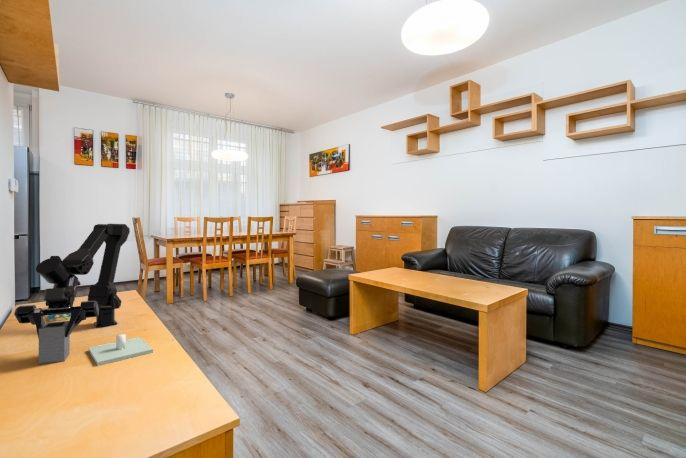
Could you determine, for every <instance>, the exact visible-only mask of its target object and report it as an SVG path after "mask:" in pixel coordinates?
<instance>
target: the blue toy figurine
mask: <svg viewBox="0 0 686 458" xmlns="http://www.w3.org/2000/svg"><path fill="white" fill-rule="evenodd" d="M55 317H57V315H47V317H46V318H47V319H48V320H49V321H51V320H52V319H54V318H55ZM58 317H59V318H62V317H63V318H64V319H65V320H66V321H69V320H70V317H71V314H61V315H58Z"/></svg>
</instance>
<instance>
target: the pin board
mask: <svg viewBox="0 0 686 458" xmlns="http://www.w3.org/2000/svg"><path fill="white" fill-rule="evenodd" d="M115 336H116V337H115V339H116V341H115V342H109V343H104V344H100V345H93V346H90V347H88V353H89V354H90V356H91V357H92V359H93V360H94V363H95V365H97V366H99V367H100V366H102V365H107V364H111V363H115V362H119V361H123V360H127V359H130V358H136V357H140V356H143V355H148V354H152V353H154V349H153V347H151V345H149V343H148V342H146V341H145V340H144V339H143V338H142V337H141V336H138V337H134V338H133V337H132V338H129V339H127V338H126V334H124V333H122V334H117V335H115Z"/></svg>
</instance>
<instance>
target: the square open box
mask: <svg viewBox="0 0 686 458" xmlns="http://www.w3.org/2000/svg"><path fill="white" fill-rule="evenodd" d="M69 321H70V320H64V321H52V322H45V324H44V325H43V326H41V327H40V328H39V339H38V365H44V364H51V363H59V362H65V361H66V359H67V358H68V357H69V355H70V349H71V348H70V335H71V334H70V335H69V336H68V337H66V330H67V327H68V324H69Z"/></svg>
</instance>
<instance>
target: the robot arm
mask: <svg viewBox="0 0 686 458" xmlns="http://www.w3.org/2000/svg"><path fill="white" fill-rule="evenodd" d="M130 231H131V229H130V227H129V226H128V225H127V224H125V223H97V224H95V225H94V226H93V229H92V231H91V232H90V233H89V235H88V236H87V238H86V239H85V240H84V241H83V243H81V245H80V246H79V248H78V249H77V250H75V251H73V252H70V253H69V254H68V255H66V257H64V258H63V259H62V258H61V257H60V256H59V255H51V256H50V257H49V258H47V259H44V260H43V261H41V262H39V263H38V264H37V265H36V267H35V271H36V273H37V274H39V276H41V277H42V278H43V279H44V280H45V281H46V282H47V283H48V284H53V286H52V288H50V287H49V288H45V290H44V291H45V292H44V297H43V300H44V301H45V303H44V304H45V306H46V307H47V308H42V307H37V306H36V304H32V305H31V304H28V305H19V306H17V307H16V308H15V310H14V313H13V314H14V317H15V319H16V320H17V321H18V322H17V323H19V324H21V325H22V324H23V325H24V324H31V325H32V326H35V328H36V334H37V339H38V340H39V328H40V327H41V326H43V325H44V324H45V323H46V321H45V319H44V317H45V316H49V315H56V316H59V315H61V314H64V315H66V314H71V316H69V320H68V321H69V324H68V327H67V330H66V337H68V336H69V335H71V333H72V332H73V331H74V330H75V329H76V327H77V326H78V325H80V323H82V322H83V321H85V320H87V319H89V318H95V319H96V320H95V321H94V322H93V325H94V326H95V327H96V328H102V327H108V326H114V325H118V322H117V321H116V320H115V317H116V314H115V313H116V309H120V308H121V306H122V300H121V298H120V297H119V296H118V295H117V294H118V289H117V287H116V285H115V282H114V281H115V277H116V273H117V267H118V262H119V257H120V253H121V252H120V251H121V247H122V246H123V245H124V244H125V243H126V242H127V240H128V238H129V235H130ZM103 243H105V247H104V252H103V256H102V262H101V265H100V270H99V275H98V278H97V279H98V280H97V282H96V283H94V285H93V284H91V285H90V287H89V291H88V294H87V300H85V301H84V300H83V301H81V302H80V306H78V305H77V306H73V305H74V302H75V301H76V299H75V298H76V296H77V293H78V292H77V291H78V290H77V287H79V286H81V282H80V280H79V278H78V277H77V276H84V275H88V274H89V273H90V271H91V269H92V267H93V266H94V257H95V255H96V253H97V252H98V251H99V249H100V248H101V247H102V245H103Z"/></svg>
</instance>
